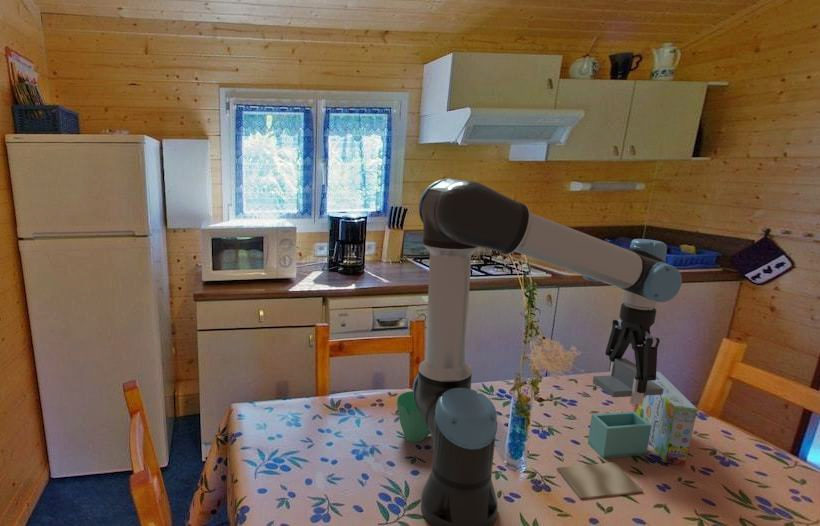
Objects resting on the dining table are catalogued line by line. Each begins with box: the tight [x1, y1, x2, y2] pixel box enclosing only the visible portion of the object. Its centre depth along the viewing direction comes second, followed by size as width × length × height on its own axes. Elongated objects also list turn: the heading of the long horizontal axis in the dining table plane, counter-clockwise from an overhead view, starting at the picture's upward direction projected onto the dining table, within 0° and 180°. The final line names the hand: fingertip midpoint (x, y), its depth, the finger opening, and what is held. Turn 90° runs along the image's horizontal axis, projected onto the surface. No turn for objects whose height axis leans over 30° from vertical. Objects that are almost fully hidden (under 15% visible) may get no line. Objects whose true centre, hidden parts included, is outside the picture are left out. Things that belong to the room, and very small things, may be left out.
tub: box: [587, 411, 651, 459], centre depth 117 cm, size 12×6×8 cm, turn 102°
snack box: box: [633, 370, 698, 466], centre depth 121 cm, size 21×6×15 cm, turn 175°
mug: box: [396, 390, 431, 443], centre depth 118 cm, size 15×10×10 cm
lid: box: [592, 357, 664, 398], centre depth 114 cm, size 14×8×7 cm, turn 103°
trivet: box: [556, 461, 644, 500], centre depth 105 cm, size 15×10×1 cm, turn 102°
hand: (624, 394), depth 114 cm, fingers closed on lid, 8 cm apart
